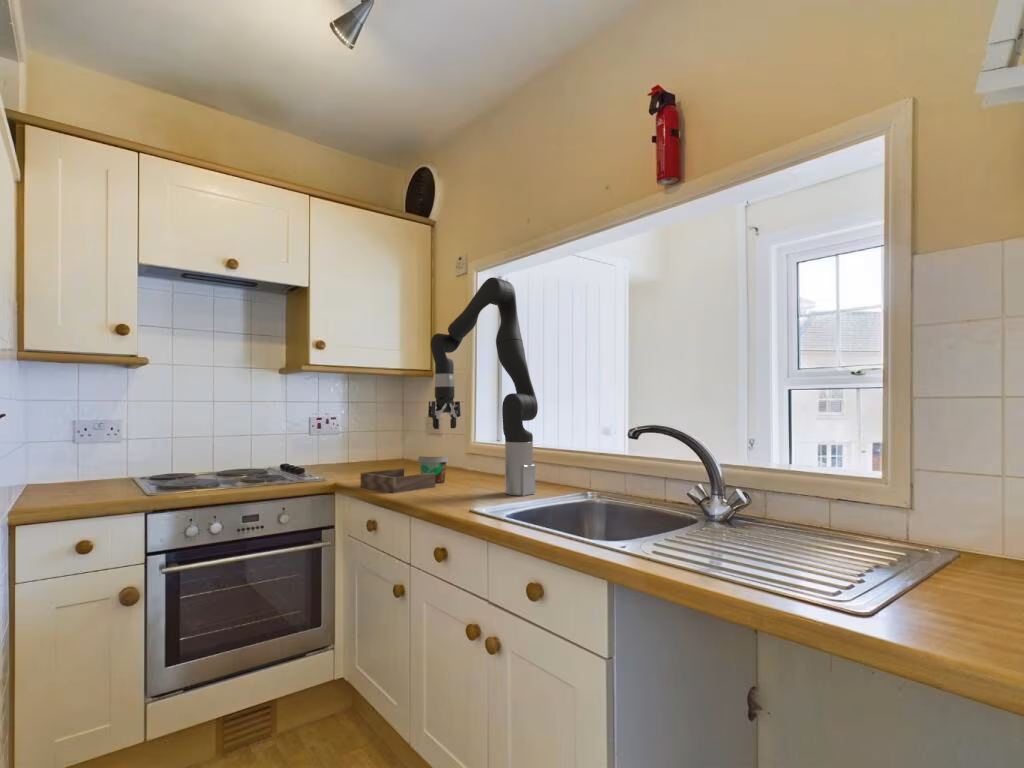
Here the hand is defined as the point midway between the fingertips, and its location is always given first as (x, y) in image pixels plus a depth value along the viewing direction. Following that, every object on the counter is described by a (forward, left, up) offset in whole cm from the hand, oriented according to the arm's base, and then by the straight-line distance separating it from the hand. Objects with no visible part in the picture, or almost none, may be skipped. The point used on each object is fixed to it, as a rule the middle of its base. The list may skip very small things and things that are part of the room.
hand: (444, 428), depth 205 cm
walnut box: (+4, +18, -20) cm, 27 cm away
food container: (+3, +5, -21) cm, 21 cm away
